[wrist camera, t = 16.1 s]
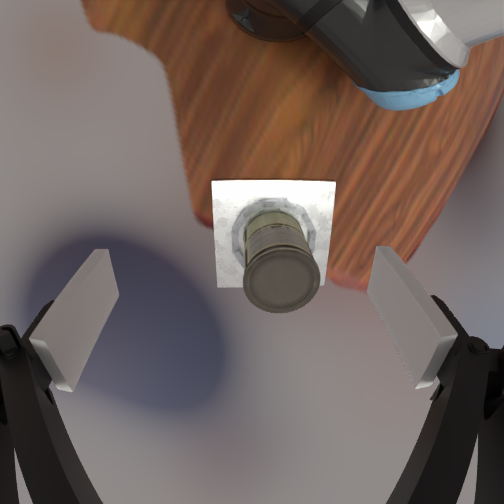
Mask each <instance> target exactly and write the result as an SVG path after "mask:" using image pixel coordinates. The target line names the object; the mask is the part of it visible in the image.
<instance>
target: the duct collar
mask: <svg viewBox="0 0 504 504" xmlns="http://www.w3.org/2000/svg"><path fill="white" fill-rule="evenodd" d="M335 186H336V182H335V181H334V180H307V179H218V180H212V200H213V221H214V239H215V256H216V271H217V286H218V287H243V276H244V242H243V234H244V230H245V227H246V225H247V224H248V222H249V221H250V220H251V219H252V218H253V217H254V216H256V215H257V214H259V213H261V212H264V211H268V210H280V211H284V212H287V213H289V214H291V215H292V216H293V217H294V218H296V219H297V221H298V222H299V224H300V226H301V228H302V231H303V234H304V236H305V239H306V241H307V243H308V246H309V248H310V250H311V253H312V255H313V258H314V260H315V261H316V263H317V265H318V267H319V270H320V276H321V280H320V285H324V282H325V275H326V267H327V260H328V252H329V244H330V235H331V227H332V217H333V208H334V197H335Z"/></svg>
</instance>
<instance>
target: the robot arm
mask: <svg viewBox="0 0 504 504" xmlns="http://www.w3.org/2000/svg"><path fill="white" fill-rule="evenodd" d="M226 5H227V10H228V12H229V15H230V17H231V18H232V20H233V21H234V23H235V24H236V25H237V26H238V27H239V28H240V29H241V30H243V31H244V32H246V33H247V34H249V35H251V36H253V37H255V38H258V39H261V40H265V41H270V42H287V41H292V40H296V39H299V38H301V37H303V36H305V35H307V36H308V37H309V38H310V39H312V40H313V41H314V42H315V43H316V44H317V45H318V46H319V47H320V48H321V49H322V50H323V51H324V52H325V53H326V54H327V55H328V56H329V57H330V58H331V59H332V60H333V61H334V62H335V63H336V64H337V65H338V66H339V67H340V68H341V69H342V70H343V71H344V72H345V73H346V74H347V75H348V76H349V77H350V78H351V80H352V82H353V84H354V85H355V86H356V87H358V88H359V89H360V90H362V91H363V92H364V93H365V94H366V95H367V96H368V97H369V98H370V99H371V100H372V101H373V102H374V103H375V104H376V105H378V106H379V107H382V108H384V109H388V110H394V111H402V110H409V109H414V108H417V107H421V106H424V105H426V104H429V103H431V102H433V101H435V100H436V98H437V96H440V95H445V94H446V93H448V92H449V91H450V90H451V89H452V88H453V87H454V86H455V85H456V83H457V82H458V78H459V69H460V68H462V67H464V66H466V64H467V61H468V57H469V52H470V49H471V47H473V46H476V45H478V44H481V43H484V42H486V41H489V40H492V39H495V38H498V37H500V36H503V35H504V0H226ZM367 294H368V296H369V298H370V300H371V301H372V303H373V305H374V307H375V309H376V310H377V313H378V315H379V316H380V318H381V320H382V322H383V324H384V326H385V328H386V330H387V332H388V334H389V336H390V338H391V340H392V342H393V344H394V346H395V348H396V350H397V352H398V354H399V356H400V358H401V360H402V362H403V364H404V366H405V368H406V370H407V372H408V375H409V377H410V379H411V381H412V383H413V385H414V387H415V389H418V388H422V387H427V386H430V385H431V384H432V383H433V381H434V379H435V377H436V376H437V377H438V378H439V380H440V384H439V385H438V387H437V389H436V390H435V392H434V394H433V396H432V397H431V398H430V400H433V401H432V404H431V407H430V410H429V412H428V415H427V418H426V420H425V423H424V425H423V428H422V430H421V433H420V435H419V438H418V440H417V443H416V445H415V447H414V449H413V451H412V454H411V456H410V458H409V460H408V462H407V464H406V467H405V469H404V471H403V473H402V475H401V477H400V479H399V481H398V482H397V484H396V486H395V488H394V490H393V492H392V494H391V496H390V497H389V499H388V501H387V503H386V504H456V503H457V500H458V497H459V495H460V492H461V489H462V486H463V483H464V480H465V477H466V474H467V471H468V468H469V465H470V461H471V458H472V454H473V450H474V447H475V443H476V439H477V435H478V465H477V482H476V493H475V502H474V504H504V346H503V348H502V349H491V348H489V346H488V345H487V343H485V342H484V341H483V340H482V339H480V338H478V337H474V336H470V337H469V335H468V334H467V333H466V331H465V330H464V328H463V327H462V326H461V324H460V323H459V322H458V320H457V319H456V317H454V315H453V313H452V312H451V311H449V308H448V307H447V306H446V304H445V303H444V302H443V301H442V300H440V299H439V298H438V297H436V296H435V295H431V296H430V295H429V294H428V292H427V291H426V290H425V289H424V287H423V286H422V285H421V283H420V282H419V281H418V280H417V278H416V277H415V276H414V275H413V273H412V272H411V271H410V270H409V268H408V267H407V266H406V265H405V263H404V262H403V261H402V260H401V259H400V257H399V256H398V255H397V254H396V253H395V251H394V250H393V249H392V248H391V247H390V246H376V252H375V257H374V262H373V267H372V271H371V276H370V281H369V285H368V289H367ZM118 297H119V292H118V288H117V285H116V281H115V277H114V273H113V268H112V264H111V260H110V255H109V251H108V249H95V250H94V251H93V252H92V254H91V255H90V256H89V257H88V259H87V260H86V261H85V263H84V264H83V265H82V266H81V267H80V269H79V270H78V271H77V272H76V274H75V275H74V276H73V277H72V279H71V280H70V281H69V283H68V284H67V285H66V287H65V288H64V289H63V291H62V292H61V293H60V295H59V296H58V297H57V299H56V300H52V301H50V302H49V303H48V304H46V305H45V306H44V307H43V308H42V310H41V311H40V312H39V314H38V316H36V318H35V319H34V322H32V324H31V325H30V327H29V328H28V329H27V331H26V332H25V334H24V335H23V337H22V338H20V336H19V334H18V332H17V330H16V328H15V327H14V326H13V325H3V326H0V504H19V499H18V490H17V482H16V471H15V457H14V448H15V451H16V455H17V459H18V462H19V465H20V468H21V471H22V474H23V477H24V480H25V483H26V486H27V489H28V491H29V494H30V497H31V499H32V502H33V504H103V503H102V501H101V499H100V498H99V496H98V494H97V492H96V490H95V489H94V487H93V485H92V483H91V481H90V479H89V478H88V476H87V474H86V472H85V470H84V468H83V466H82V464H81V462H80V460H79V458H78V455H77V454H76V451H75V449H74V447H73V445H72V442H71V440H70V438H69V435H68V433H67V431H66V428H65V426H64V423H63V421H62V418H61V416H60V413H59V410H58V408H57V405H56V402H55V399H54V397H53V394H52V391H51V390H50V388H49V384H50V383H51V381H53V382H54V384H55V386H56V387H57V388H58V389H59V390H64V391H69V392H73V391H74V389H75V386H76V384H77V382H78V379H79V377H80V375H81V372H82V371H83V368H84V366H85V364H86V362H87V359H88V357H89V355H90V353H91V351H92V349H93V347H94V345H95V343H96V341H97V338H98V336H99V334H100V332H101V330H102V328H103V326H104V324H105V322H106V320H107V318H108V316H109V314H110V312H111V310H112V308H113V306H114V305H115V303H116V301H117V299H118Z"/></svg>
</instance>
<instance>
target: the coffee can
mask: <svg viewBox="0 0 504 504" xmlns="http://www.w3.org/2000/svg"><path fill="white" fill-rule="evenodd" d="M243 242H244V276H243V288H244V292H245V294H246V296H247V298H248V299H249V300H250V302H251V303H252V304H254V305H255V306H256V307H258V308H259V309H261V310H264V311H267V312H272V313H286V312H291V311H294V310H297V309H299V308H301V307H303V306H304V305H306V304H307V303H308V302H309V301H311V299H312V298H313V297H314V296H315V294H316V292H317V291H318V288H319V286H320V280H321V276H320V270H319V267H318V265H317V263H316V261H315V260H314V258H313V255H312V253H311V250H310V248H309V246H308V243H307V241H306V239H305V236H304V234H303V231H302V228H301V226H300V224H299V222H298V221H297V219H296V218H294V217H293V216H292V215H291V214H289V213H287V212H284V211H280V210H268V211H264V212H261V213H259V214H257V215H256V216H254V217H253V218H252V219H251V220H250V221H249V222H248V224H247V225H246V227H245V230H244V234H243Z"/></svg>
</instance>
